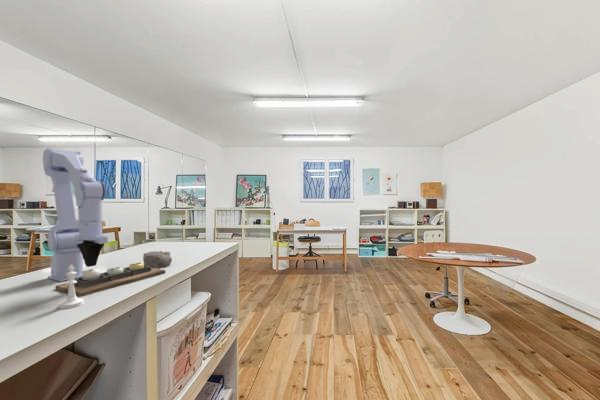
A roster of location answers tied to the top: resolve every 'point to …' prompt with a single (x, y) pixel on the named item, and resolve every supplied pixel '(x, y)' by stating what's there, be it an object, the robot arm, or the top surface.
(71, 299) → the chess piece
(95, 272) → the button one
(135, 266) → the button three
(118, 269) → the button two
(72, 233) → the robot arm
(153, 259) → the stone
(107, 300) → the top surface
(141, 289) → the top surface
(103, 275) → the button board
